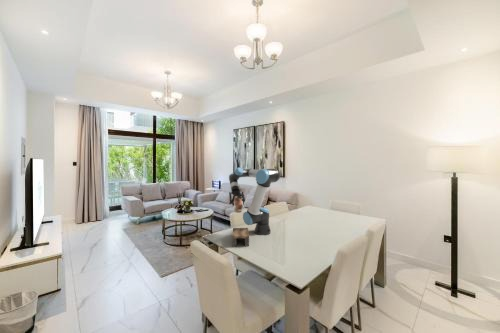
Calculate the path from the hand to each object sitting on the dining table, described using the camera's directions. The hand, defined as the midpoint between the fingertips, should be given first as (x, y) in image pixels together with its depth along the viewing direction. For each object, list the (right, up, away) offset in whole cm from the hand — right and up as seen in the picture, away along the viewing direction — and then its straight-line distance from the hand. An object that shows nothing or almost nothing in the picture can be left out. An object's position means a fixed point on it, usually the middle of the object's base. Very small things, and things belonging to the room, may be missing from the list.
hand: (239, 208), depth 195 cm
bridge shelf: (+2, -25, -13) cm, 29 cm away
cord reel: (-1, -4, +4) cm, 5 cm away
